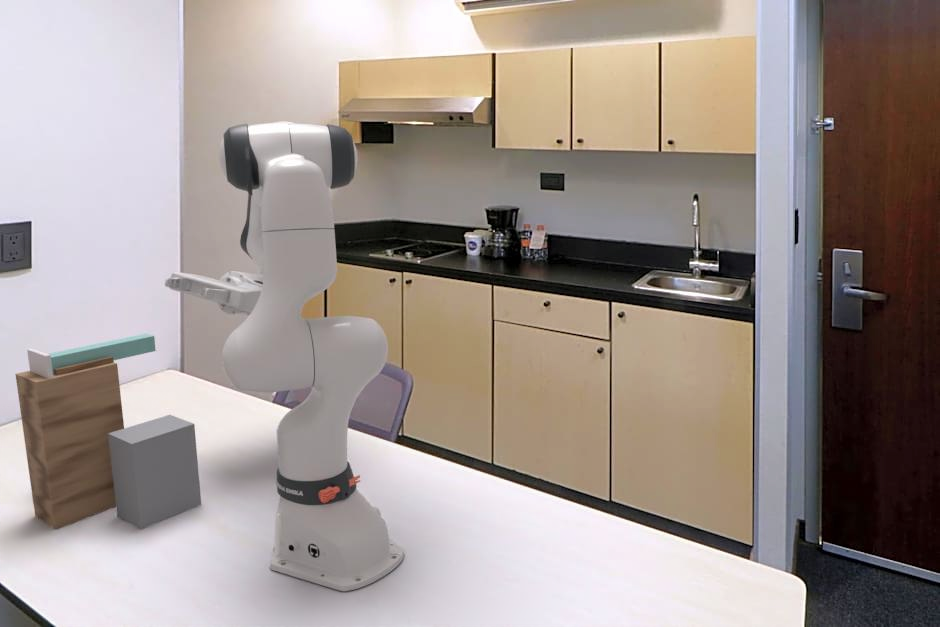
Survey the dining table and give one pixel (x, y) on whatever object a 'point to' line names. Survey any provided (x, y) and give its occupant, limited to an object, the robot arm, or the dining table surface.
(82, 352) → the scraper
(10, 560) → the dining table surface
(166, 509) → the upright gray brick
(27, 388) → the upright wood-grain block
